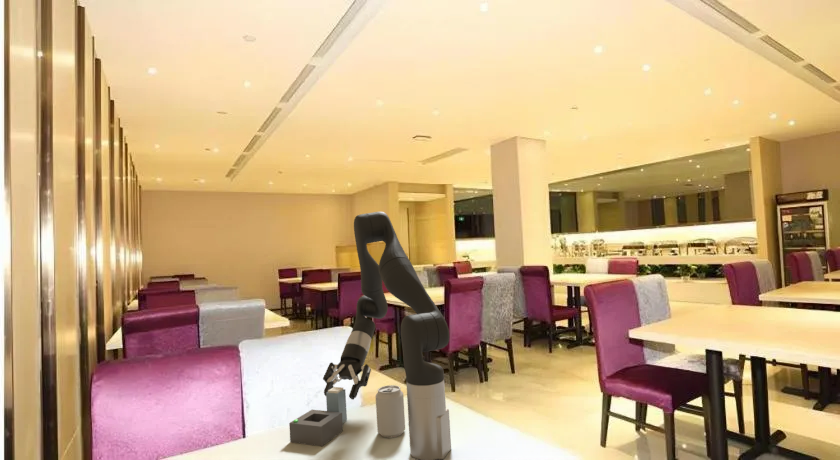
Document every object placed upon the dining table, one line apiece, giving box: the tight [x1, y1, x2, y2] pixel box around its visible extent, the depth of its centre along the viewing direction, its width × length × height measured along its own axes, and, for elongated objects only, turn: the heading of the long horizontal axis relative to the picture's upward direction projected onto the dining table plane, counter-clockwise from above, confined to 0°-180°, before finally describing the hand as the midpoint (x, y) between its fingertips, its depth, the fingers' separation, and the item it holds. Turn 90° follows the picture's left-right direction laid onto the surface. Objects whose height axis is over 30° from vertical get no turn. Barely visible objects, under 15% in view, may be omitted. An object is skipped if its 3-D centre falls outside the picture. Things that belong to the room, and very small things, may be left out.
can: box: [375, 384, 406, 439], centre depth 123 cm, size 8×8×12 cm
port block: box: [289, 409, 344, 447], centre depth 123 cm, size 10×10×5 cm
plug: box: [325, 386, 348, 424], centre depth 132 cm, size 4×4×10 cm
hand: (338, 397), depth 134 cm, fingers open, 8 cm apart
